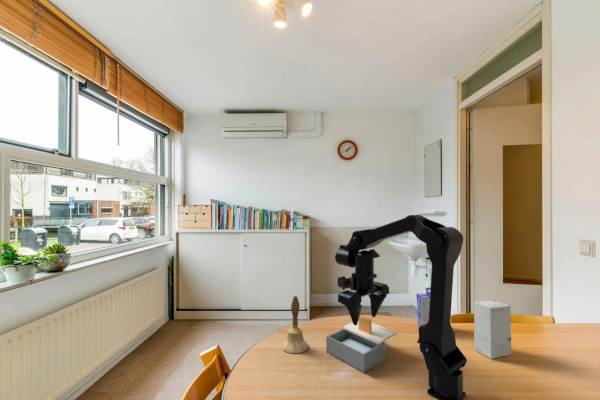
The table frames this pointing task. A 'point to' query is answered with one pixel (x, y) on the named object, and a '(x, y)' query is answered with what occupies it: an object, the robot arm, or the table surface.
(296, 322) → the hand bell
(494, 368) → the table surface
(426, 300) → the ink cartridge box
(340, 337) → the carton
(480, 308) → the skincare box
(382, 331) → the flap
